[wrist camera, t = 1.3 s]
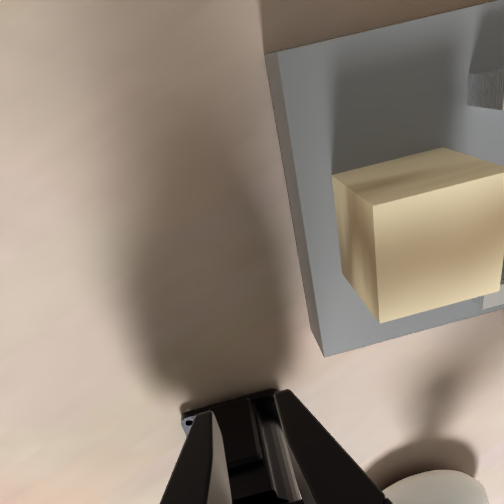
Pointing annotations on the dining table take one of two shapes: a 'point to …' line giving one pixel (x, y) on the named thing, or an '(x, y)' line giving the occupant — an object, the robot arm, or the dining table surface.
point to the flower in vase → (437, 489)
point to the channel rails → (493, 97)
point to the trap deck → (377, 141)
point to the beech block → (421, 231)
